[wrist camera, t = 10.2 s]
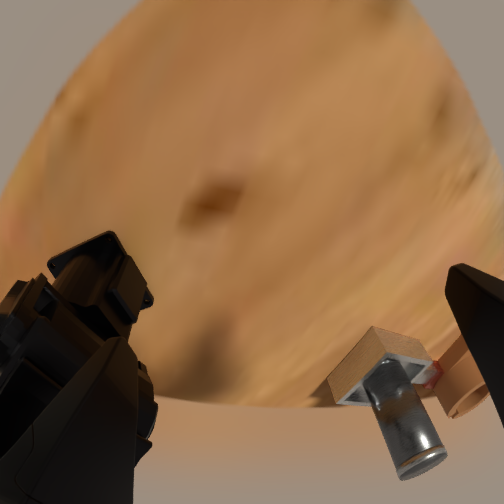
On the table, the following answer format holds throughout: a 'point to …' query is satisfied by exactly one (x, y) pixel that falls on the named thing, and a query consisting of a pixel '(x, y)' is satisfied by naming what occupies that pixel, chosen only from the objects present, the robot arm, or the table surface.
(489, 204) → the table surface
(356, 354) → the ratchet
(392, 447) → the dark metal cylinder
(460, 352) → the bracket
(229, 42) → the table surface
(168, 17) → the table surface
